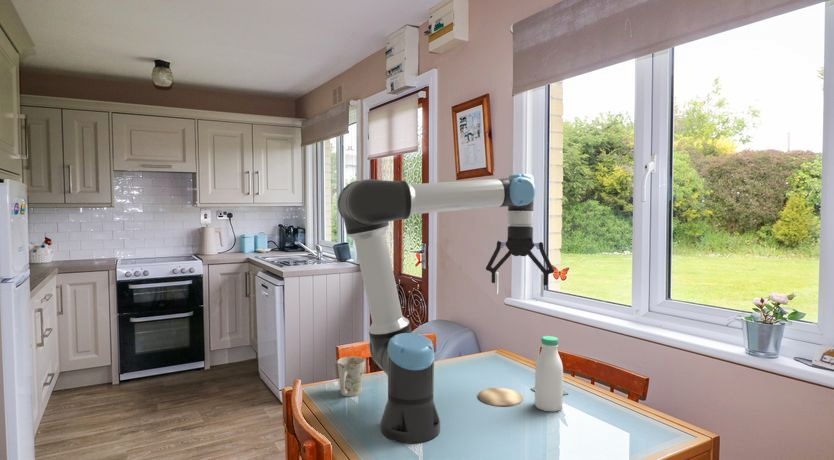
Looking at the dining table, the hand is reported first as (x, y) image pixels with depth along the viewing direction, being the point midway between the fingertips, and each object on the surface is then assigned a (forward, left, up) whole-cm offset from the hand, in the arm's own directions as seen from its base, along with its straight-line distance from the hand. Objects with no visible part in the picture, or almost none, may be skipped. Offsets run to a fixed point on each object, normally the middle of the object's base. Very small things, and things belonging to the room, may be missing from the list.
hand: (518, 295), depth 151 cm
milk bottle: (+2, -13, -30) cm, 33 cm away
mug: (-48, +17, -30) cm, 60 cm away
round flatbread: (-7, -2, -30) cm, 31 cm away
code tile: (+9, -4, -30) cm, 32 cm away
